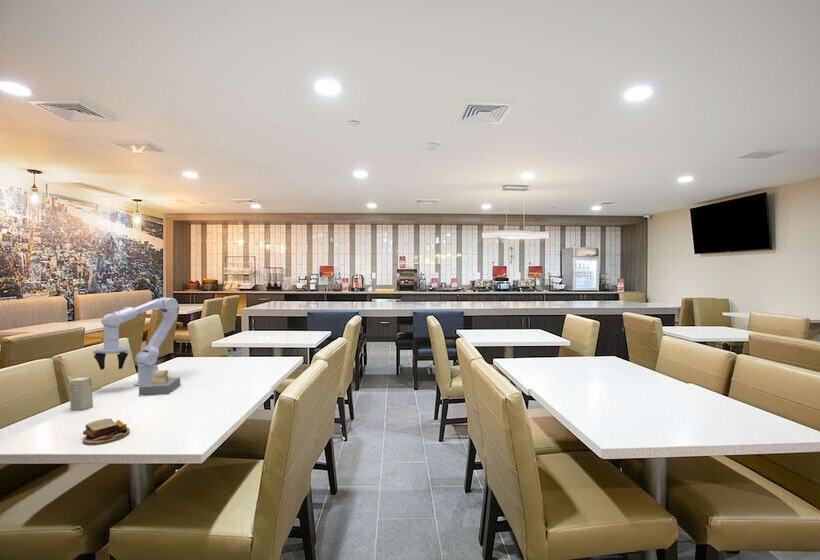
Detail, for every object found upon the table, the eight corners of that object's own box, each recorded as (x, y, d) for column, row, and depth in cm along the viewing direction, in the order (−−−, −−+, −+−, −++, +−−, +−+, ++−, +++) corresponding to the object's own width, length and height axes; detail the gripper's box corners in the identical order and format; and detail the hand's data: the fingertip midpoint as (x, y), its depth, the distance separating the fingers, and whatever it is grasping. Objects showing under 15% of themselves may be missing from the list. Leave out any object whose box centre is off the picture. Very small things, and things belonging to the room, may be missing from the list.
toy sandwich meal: (88, 449, 124) (87, 434, 123) (78, 438, 132) (77, 424, 132) (135, 436, 133) (134, 422, 133) (122, 426, 142) (122, 413, 142)
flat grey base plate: (153, 387, 190) (153, 378, 190) (180, 385, 192) (180, 377, 192) (139, 396, 176) (138, 387, 176) (168, 394, 178) (168, 385, 178)
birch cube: (156, 380, 186) (156, 370, 186) (168, 380, 187) (168, 369, 187) (151, 383, 181) (151, 373, 181) (163, 383, 182) (163, 372, 182)
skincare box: (93, 406, 163) (92, 377, 163) (83, 410, 159) (82, 380, 158) (79, 406, 164) (78, 377, 163) (69, 410, 159) (68, 380, 159)
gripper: (88, 341, 179) (88, 371, 179) (124, 340, 181) (124, 370, 181) (97, 339, 186) (97, 368, 186) (131, 338, 188) (132, 366, 188)
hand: (111, 368), depth 184 cm, fingers open, 7 cm apart
